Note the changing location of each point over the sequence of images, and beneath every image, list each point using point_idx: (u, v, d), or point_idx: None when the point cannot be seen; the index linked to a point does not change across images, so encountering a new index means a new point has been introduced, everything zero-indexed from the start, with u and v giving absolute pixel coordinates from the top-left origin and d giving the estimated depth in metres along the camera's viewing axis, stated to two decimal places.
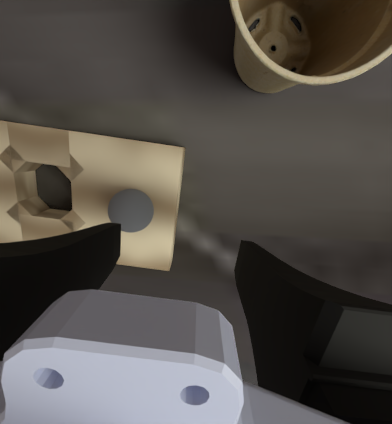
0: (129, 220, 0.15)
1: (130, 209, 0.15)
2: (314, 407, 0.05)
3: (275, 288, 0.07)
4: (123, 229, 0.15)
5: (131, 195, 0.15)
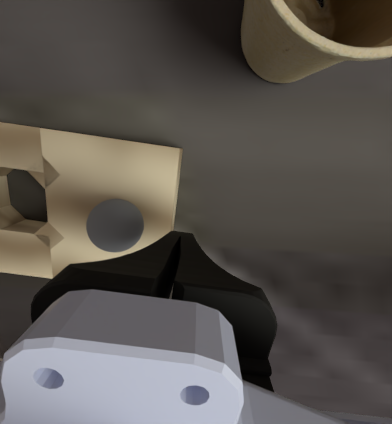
0: (112, 239, 0.12)
1: (113, 225, 0.12)
2: None
3: None
4: (105, 249, 0.12)
5: (114, 208, 0.12)
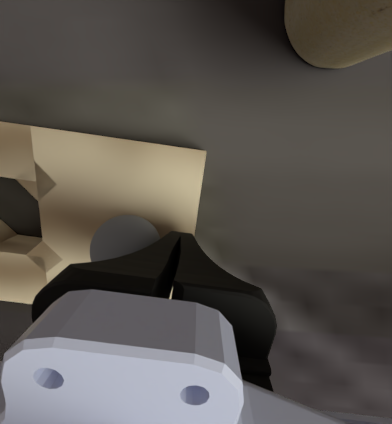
0: None
1: (124, 253, 0.09)
2: None
3: None
4: None
5: (126, 229, 0.09)
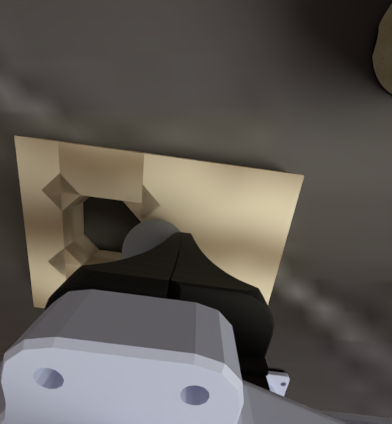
0: None
1: None
2: None
3: None
4: None
5: None
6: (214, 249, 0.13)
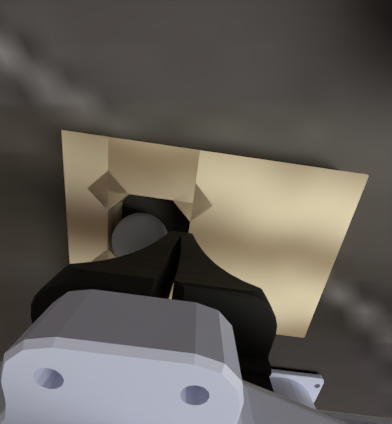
0: None
1: None
2: None
3: None
4: None
5: (139, 232, 0.12)
6: (265, 251, 0.13)
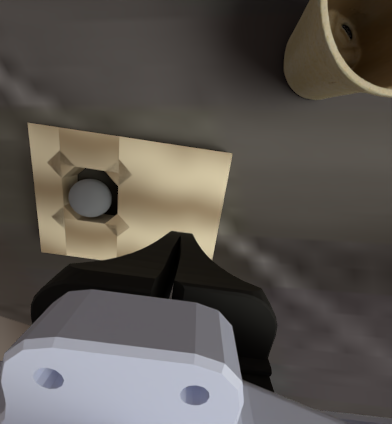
0: (93, 208, 0.17)
1: (92, 198, 0.17)
2: None
3: None
4: (88, 215, 0.18)
5: (89, 186, 0.17)
6: (172, 208, 0.18)
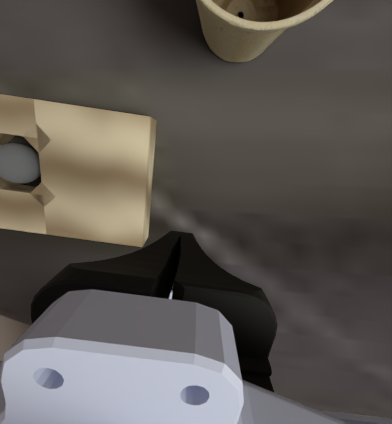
0: (19, 168, 0.17)
1: (18, 158, 0.17)
2: None
3: None
4: (14, 178, 0.17)
5: (16, 147, 0.17)
6: (96, 176, 0.18)
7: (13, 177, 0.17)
